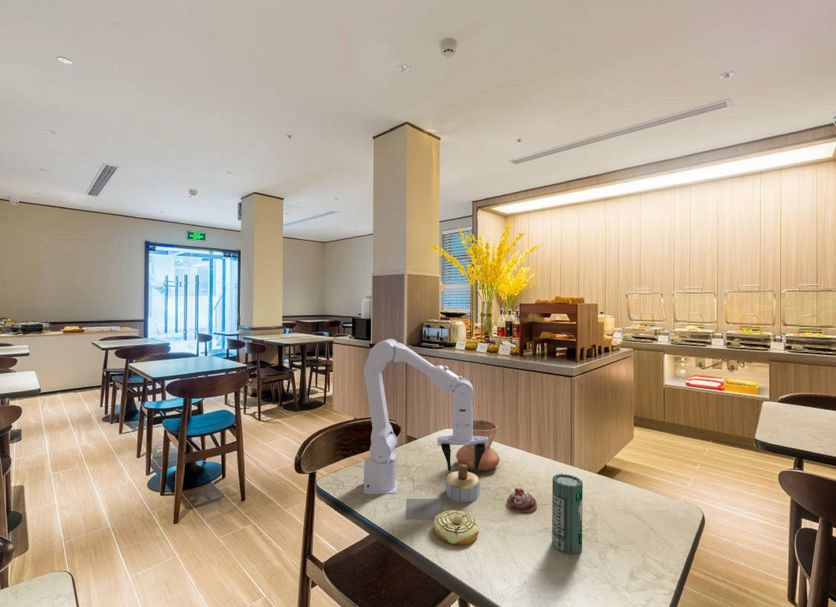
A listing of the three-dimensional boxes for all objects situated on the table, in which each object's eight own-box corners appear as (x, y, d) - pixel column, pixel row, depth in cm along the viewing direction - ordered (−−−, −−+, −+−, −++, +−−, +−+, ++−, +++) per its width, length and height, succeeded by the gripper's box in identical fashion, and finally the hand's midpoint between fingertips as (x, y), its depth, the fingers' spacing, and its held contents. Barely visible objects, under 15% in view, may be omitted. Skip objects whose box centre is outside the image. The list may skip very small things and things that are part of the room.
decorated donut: (453, 555, 84) (453, 538, 84) (425, 531, 93) (425, 515, 93) (487, 538, 90) (487, 522, 90) (457, 517, 99) (457, 502, 99)
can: (587, 551, 85) (587, 484, 85) (564, 556, 84) (564, 488, 83) (569, 535, 91) (569, 472, 91) (547, 539, 89) (547, 475, 89)
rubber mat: (405, 520, 97) (405, 519, 97) (406, 500, 107) (406, 498, 107) (445, 520, 97) (445, 518, 97) (442, 500, 107) (442, 498, 107)
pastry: (504, 510, 102) (504, 491, 102) (508, 497, 109) (509, 479, 109) (535, 516, 99) (535, 497, 99) (538, 502, 106) (538, 484, 106)
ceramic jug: (489, 481, 119) (490, 435, 119) (447, 469, 126) (448, 426, 126) (507, 461, 134) (508, 421, 134) (468, 452, 141) (469, 414, 142)
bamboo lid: (447, 488, 106) (447, 472, 105) (446, 473, 114) (446, 458, 114) (479, 489, 105) (480, 473, 105) (477, 474, 114) (477, 459, 114)
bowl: (447, 503, 105) (447, 488, 105) (444, 486, 115) (444, 473, 115) (481, 503, 105) (481, 488, 105) (476, 486, 115) (476, 473, 115)
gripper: (438, 427, 106) (438, 476, 106) (490, 427, 106) (490, 476, 106) (437, 419, 113) (436, 465, 113) (485, 419, 113) (485, 465, 113)
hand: (462, 469), depth 110 cm, fingers open, 7 cm apart
